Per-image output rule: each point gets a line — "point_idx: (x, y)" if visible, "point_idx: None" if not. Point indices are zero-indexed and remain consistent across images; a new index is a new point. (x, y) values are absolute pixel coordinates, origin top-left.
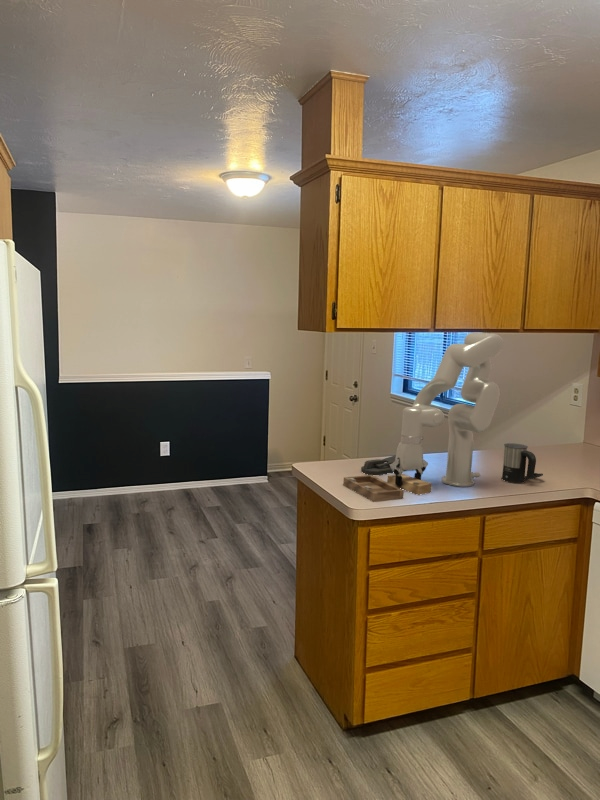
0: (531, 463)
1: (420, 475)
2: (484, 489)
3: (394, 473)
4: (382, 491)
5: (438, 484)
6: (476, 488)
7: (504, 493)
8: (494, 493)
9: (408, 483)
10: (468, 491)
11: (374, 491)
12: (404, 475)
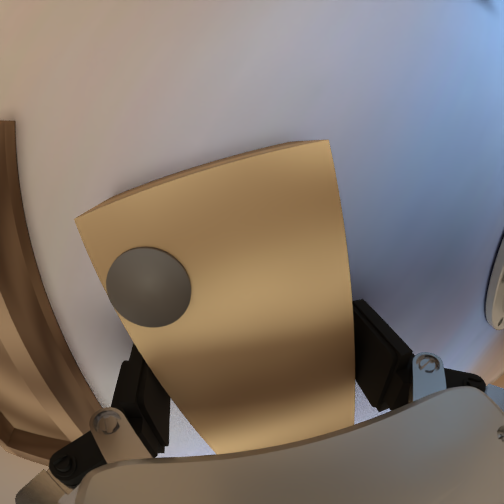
0: None
1: (380, 406)
2: (501, 344)
3: (88, 433)
4: (31, 456)
5: (470, 274)
6: (499, 335)
7: (494, 373)
8: (483, 378)
9: (207, 439)
10: (462, 371)
11: (3, 442)
12: (321, 252)
